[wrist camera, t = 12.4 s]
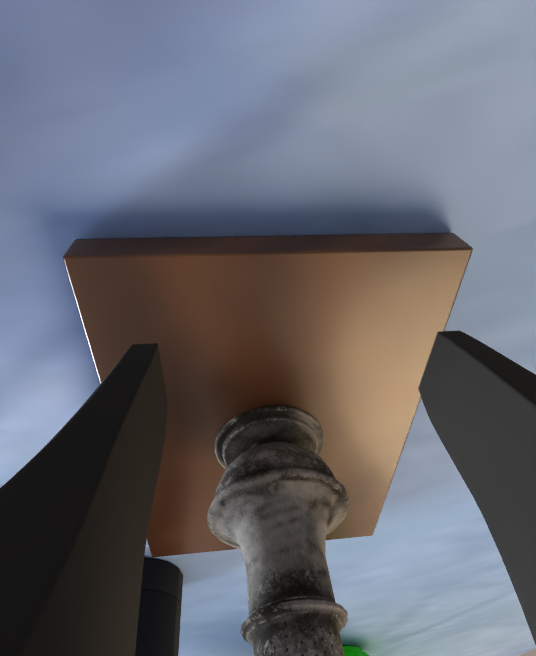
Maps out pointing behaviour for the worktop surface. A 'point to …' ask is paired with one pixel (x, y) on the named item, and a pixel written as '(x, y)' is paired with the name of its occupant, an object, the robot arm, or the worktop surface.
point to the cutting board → (272, 349)
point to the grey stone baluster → (281, 528)
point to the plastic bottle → (353, 651)
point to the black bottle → (159, 609)
